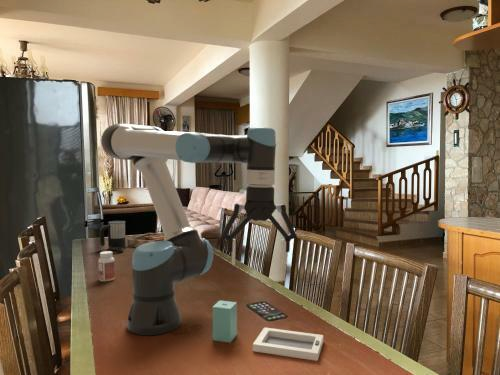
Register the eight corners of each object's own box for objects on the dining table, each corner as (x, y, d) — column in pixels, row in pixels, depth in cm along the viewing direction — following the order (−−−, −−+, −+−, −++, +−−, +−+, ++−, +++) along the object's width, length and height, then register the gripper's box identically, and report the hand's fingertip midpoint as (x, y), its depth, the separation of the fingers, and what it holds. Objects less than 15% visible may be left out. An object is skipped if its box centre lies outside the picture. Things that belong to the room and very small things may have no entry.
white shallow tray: (252, 351, 98) (252, 342, 98) (264, 333, 108) (264, 326, 108) (317, 360, 93) (317, 352, 93) (323, 341, 103) (323, 334, 103)
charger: (212, 340, 104) (212, 306, 104) (219, 332, 109) (219, 300, 108) (230, 342, 103) (230, 308, 102) (236, 334, 107) (236, 302, 107)
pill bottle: (117, 277, 161) (116, 250, 161) (112, 281, 155) (111, 254, 155) (101, 277, 161) (101, 250, 161) (96, 281, 155) (95, 254, 154)
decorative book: (153, 248, 218) (153, 239, 217) (142, 243, 231) (142, 235, 230) (172, 245, 224) (172, 237, 224) (160, 241, 237) (160, 233, 237)
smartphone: (267, 320, 116) (245, 304, 129) (267, 323, 116) (245, 306, 129) (289, 316, 120) (264, 300, 133) (289, 318, 120) (264, 302, 133)
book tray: (127, 246, 221) (127, 239, 221) (148, 239, 241) (148, 232, 241) (164, 249, 214) (164, 241, 213) (183, 241, 234) (183, 235, 234)
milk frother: (119, 246, 222) (118, 220, 222) (137, 249, 213) (136, 222, 212) (96, 250, 211) (96, 223, 210) (114, 254, 202) (114, 225, 201)
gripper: (213, 186, 100) (212, 267, 102) (309, 187, 103) (306, 267, 104) (213, 184, 108) (212, 260, 110) (303, 185, 110) (300, 259, 112)
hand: (258, 263), depth 107 cm, fingers open, 13 cm apart
